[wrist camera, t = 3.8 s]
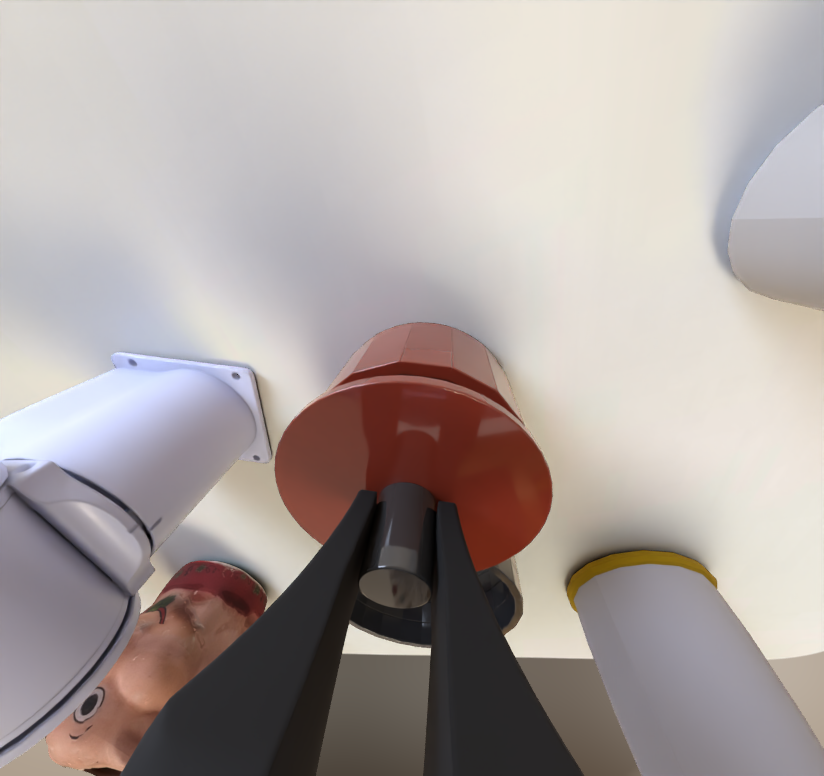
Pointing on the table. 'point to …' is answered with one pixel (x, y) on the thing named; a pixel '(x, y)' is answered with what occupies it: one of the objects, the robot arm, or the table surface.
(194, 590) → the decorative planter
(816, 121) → the can
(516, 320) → the table surface
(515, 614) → the pan
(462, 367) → the reddish brown bowl
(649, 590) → the soap bottle
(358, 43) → the table surface
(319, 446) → the lid
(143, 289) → the table surface
